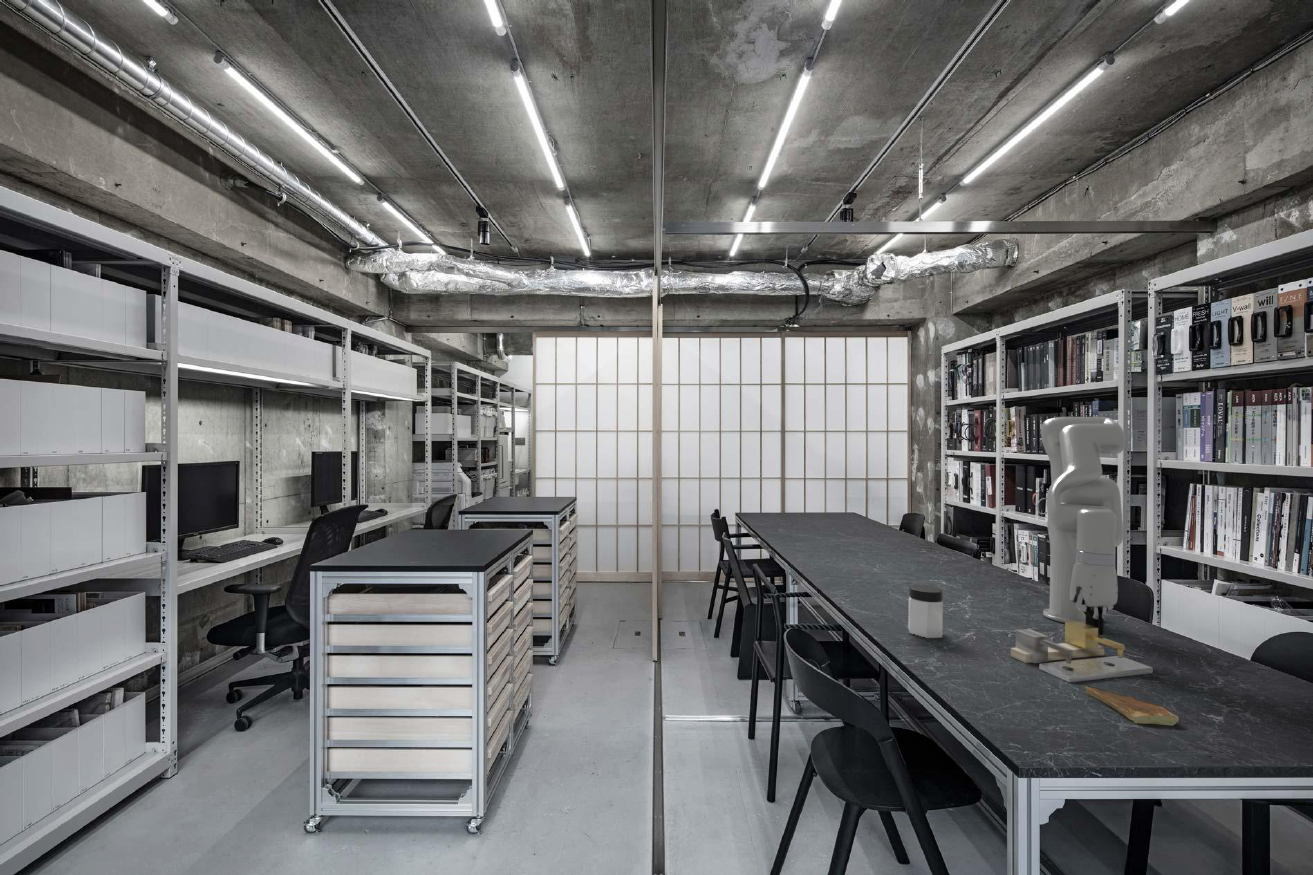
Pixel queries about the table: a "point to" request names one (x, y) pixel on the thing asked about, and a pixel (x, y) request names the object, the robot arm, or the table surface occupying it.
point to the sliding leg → (1088, 637)
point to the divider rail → (1047, 648)
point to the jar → (925, 611)
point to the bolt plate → (1095, 668)
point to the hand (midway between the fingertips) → (1094, 633)
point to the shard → (1134, 707)
